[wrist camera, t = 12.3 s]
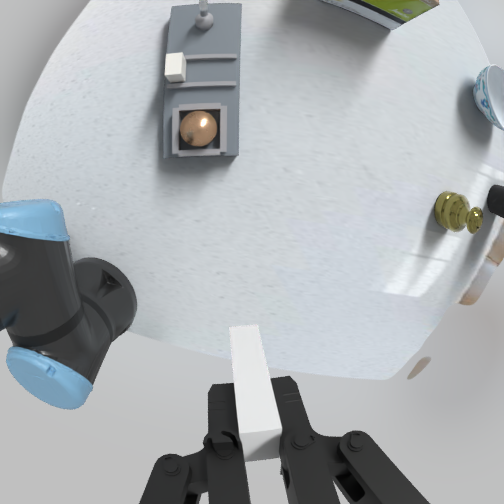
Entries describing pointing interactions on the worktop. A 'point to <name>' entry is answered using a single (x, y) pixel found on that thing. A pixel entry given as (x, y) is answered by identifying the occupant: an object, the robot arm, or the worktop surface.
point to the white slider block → (175, 67)
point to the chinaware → (491, 94)
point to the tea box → (387, 9)
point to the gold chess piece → (457, 213)
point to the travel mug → (496, 200)
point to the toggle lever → (203, 8)
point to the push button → (198, 128)
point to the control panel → (204, 77)
